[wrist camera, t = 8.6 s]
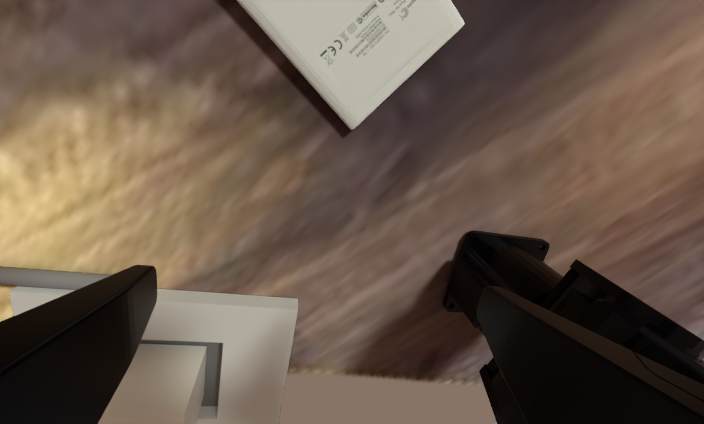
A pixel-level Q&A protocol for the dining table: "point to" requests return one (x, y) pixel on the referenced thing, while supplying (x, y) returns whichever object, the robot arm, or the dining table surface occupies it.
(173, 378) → the charger brick
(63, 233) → the dining table surface
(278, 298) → the outlet plate
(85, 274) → the grey bar
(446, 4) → the external hard drive
